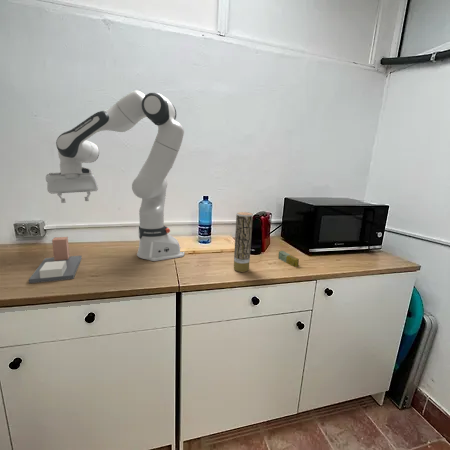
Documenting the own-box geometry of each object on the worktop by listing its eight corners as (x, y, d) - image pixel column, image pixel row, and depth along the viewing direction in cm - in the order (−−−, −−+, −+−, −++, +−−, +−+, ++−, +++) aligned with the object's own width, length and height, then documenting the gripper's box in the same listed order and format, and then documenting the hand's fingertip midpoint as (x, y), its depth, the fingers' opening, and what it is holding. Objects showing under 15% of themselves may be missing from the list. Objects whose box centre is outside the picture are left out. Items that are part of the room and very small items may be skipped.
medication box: (277, 258, 132) (278, 251, 131) (282, 257, 133) (282, 250, 132) (294, 267, 122) (295, 259, 121) (298, 266, 123) (299, 258, 122)
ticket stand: (81, 258, 120) (80, 248, 119) (73, 278, 100) (72, 267, 99) (45, 261, 115) (44, 251, 114) (29, 283, 95) (27, 271, 94)
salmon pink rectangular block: (69, 256, 117) (67, 236, 115) (67, 259, 114) (65, 239, 111) (56, 257, 115) (54, 237, 113) (54, 260, 112) (52, 240, 110)
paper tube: (248, 273, 112) (252, 215, 106) (232, 271, 113) (235, 214, 108) (249, 267, 119) (253, 212, 113) (234, 265, 120) (237, 211, 114)
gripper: (43, 171, 115) (47, 202, 114) (95, 169, 123) (99, 198, 122) (46, 175, 121) (50, 204, 120) (96, 173, 129) (99, 201, 128)
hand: (75, 201), depth 121 cm, fingers open, 8 cm apart
